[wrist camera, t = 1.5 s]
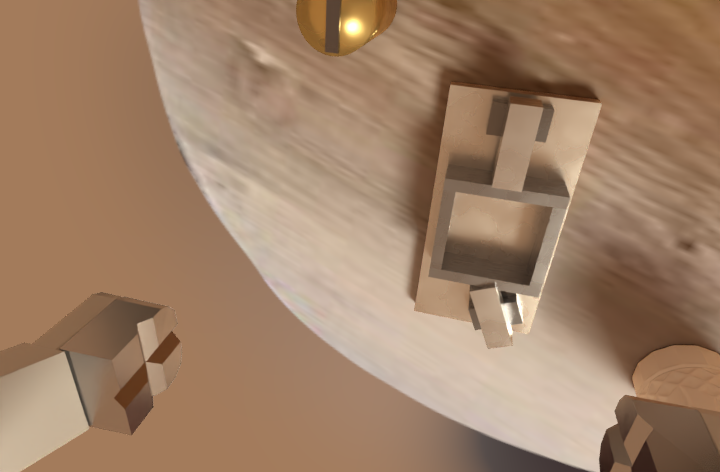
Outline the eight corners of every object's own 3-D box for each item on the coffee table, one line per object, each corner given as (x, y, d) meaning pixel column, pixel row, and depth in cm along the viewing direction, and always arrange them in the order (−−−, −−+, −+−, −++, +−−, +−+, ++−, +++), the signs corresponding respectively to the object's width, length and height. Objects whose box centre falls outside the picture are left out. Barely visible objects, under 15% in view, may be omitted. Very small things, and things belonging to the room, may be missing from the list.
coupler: (335, -37, 30) (294, -35, 24) (400, -31, 29) (375, -28, 23) (332, 34, 32) (294, 52, 26) (393, 41, 31) (368, 61, 25)
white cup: (604, 391, 40) (634, 506, 32) (659, 322, 36) (709, 433, 28) (698, 426, 40) (754, 551, 32) (765, 360, 36) (849, 484, 27)
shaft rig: (451, 81, 31) (446, 95, 28) (598, 99, 30) (611, 116, 27) (415, 303, 41) (409, 333, 37) (527, 325, 39) (530, 358, 36)
